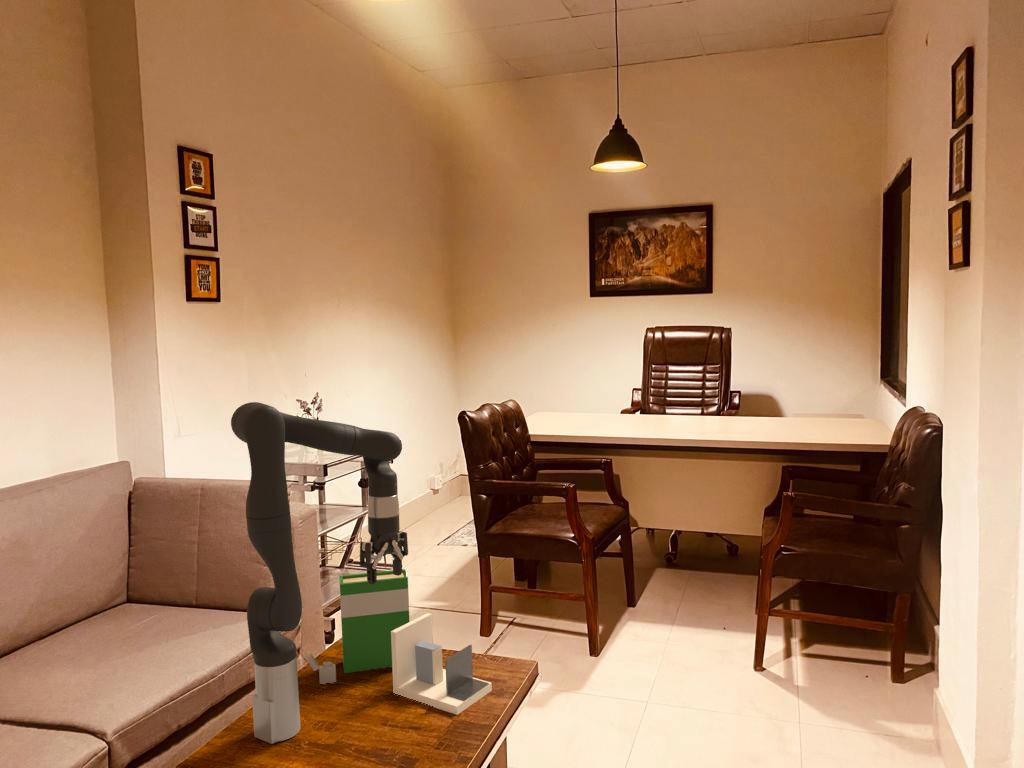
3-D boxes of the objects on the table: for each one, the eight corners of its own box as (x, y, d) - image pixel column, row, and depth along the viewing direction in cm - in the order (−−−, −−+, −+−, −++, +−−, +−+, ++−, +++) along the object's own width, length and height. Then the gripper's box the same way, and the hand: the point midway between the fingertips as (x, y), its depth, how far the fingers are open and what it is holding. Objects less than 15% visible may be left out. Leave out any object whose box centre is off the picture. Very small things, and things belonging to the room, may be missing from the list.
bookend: (464, 701, 188) (463, 664, 187) (446, 695, 191) (445, 659, 190) (489, 684, 196) (487, 649, 195) (471, 679, 199) (470, 644, 198)
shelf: (457, 714, 185) (455, 648, 184) (393, 694, 197) (390, 631, 195) (491, 690, 197) (490, 628, 196) (429, 672, 208) (427, 612, 207)
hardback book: (408, 653, 220) (404, 569, 218) (411, 664, 213) (407, 577, 211) (343, 661, 216) (339, 575, 214) (344, 673, 209) (340, 584, 207)
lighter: (336, 679, 205) (334, 649, 205) (336, 682, 204) (334, 652, 203) (307, 683, 204) (306, 653, 203) (307, 686, 202) (306, 656, 201)
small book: (435, 685, 196) (433, 650, 195) (416, 679, 200) (414, 645, 199) (443, 680, 199) (441, 645, 198) (424, 675, 202) (422, 640, 201)
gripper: (373, 520, 184) (375, 589, 185) (414, 509, 196) (416, 574, 197) (350, 517, 188) (352, 584, 189) (392, 506, 200) (394, 569, 201)
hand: (385, 579), depth 193 cm, fingers open, 8 cm apart
